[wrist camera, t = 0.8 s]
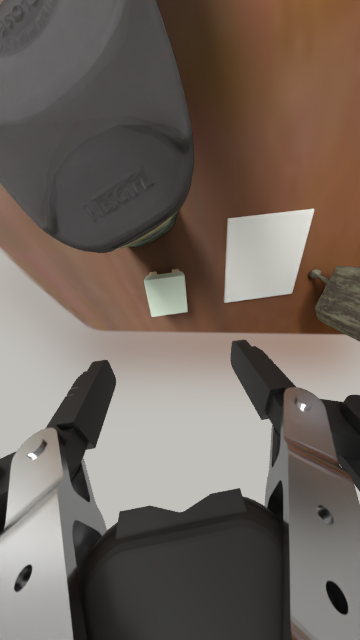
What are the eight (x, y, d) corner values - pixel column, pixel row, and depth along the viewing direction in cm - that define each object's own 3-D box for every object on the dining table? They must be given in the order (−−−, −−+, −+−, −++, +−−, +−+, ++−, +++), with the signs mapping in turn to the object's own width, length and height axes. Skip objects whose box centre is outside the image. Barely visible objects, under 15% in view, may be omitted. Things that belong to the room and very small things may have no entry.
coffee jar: (156, 159, 19) (121, -324, 3) (182, 224, 23) (233, 178, 6) (95, 198, 20) (-179, 22, 4) (129, 254, 24) (58, 281, 8)
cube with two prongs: (148, 271, 25) (143, 280, 19) (179, 267, 26) (184, 275, 20) (154, 300, 28) (151, 317, 22) (182, 296, 28) (187, 311, 22)
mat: (227, 218, 23) (228, 218, 23) (312, 209, 24) (314, 208, 23) (224, 302, 30) (224, 302, 29) (290, 292, 30) (291, 293, 30)
